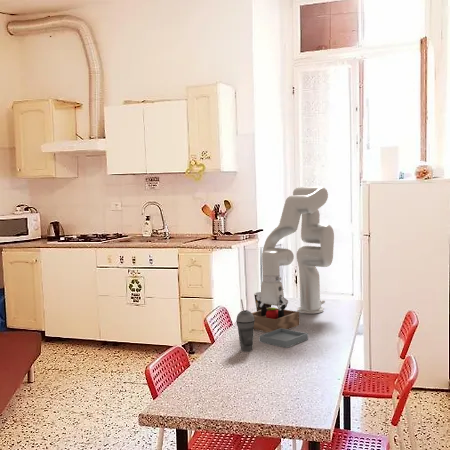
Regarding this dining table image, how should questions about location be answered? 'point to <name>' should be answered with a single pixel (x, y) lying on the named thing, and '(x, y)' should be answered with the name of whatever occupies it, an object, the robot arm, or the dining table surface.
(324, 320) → the dining table surface
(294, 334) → the slate tray
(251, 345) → the beverage cup
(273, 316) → the strawberry
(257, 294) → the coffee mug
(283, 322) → the walnut bin
